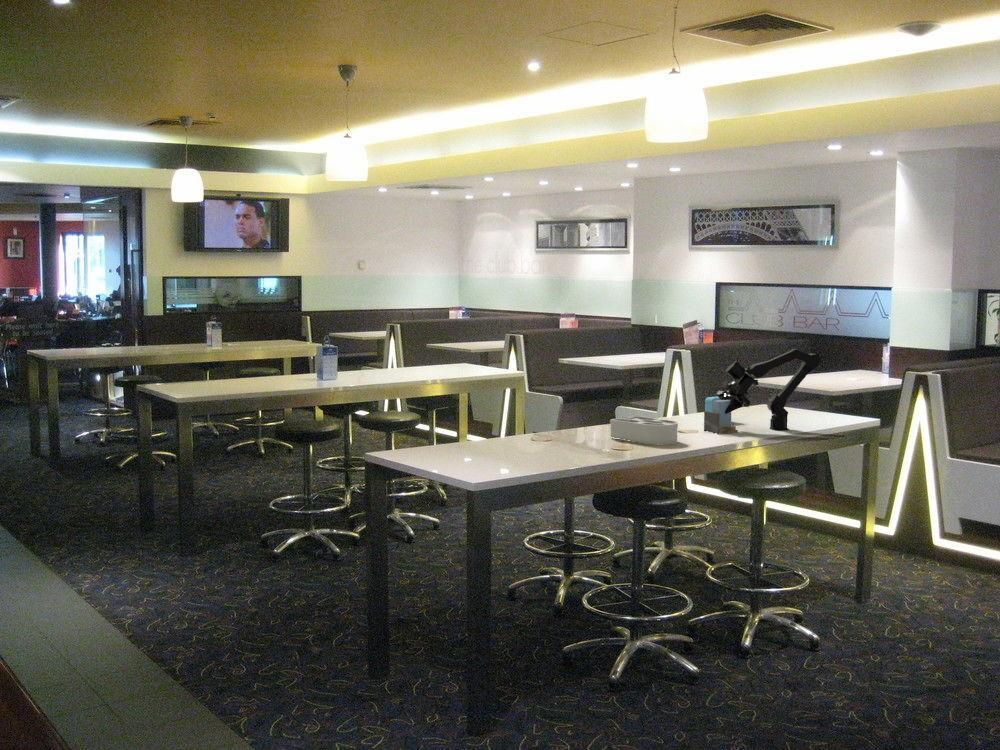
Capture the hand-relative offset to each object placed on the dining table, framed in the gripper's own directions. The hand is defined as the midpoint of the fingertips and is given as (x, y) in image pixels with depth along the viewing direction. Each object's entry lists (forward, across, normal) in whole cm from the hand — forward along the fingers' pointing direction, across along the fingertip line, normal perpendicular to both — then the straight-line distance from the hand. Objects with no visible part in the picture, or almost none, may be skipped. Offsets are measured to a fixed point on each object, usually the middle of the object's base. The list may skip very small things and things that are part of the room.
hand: (722, 412), depth 452 cm
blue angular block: (+5, 0, +5) cm, 7 cm away
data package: (-5, -25, +17) cm, 31 cm away
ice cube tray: (+36, +6, -24) cm, 44 cm away
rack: (+6, 0, +6) cm, 9 cm away
